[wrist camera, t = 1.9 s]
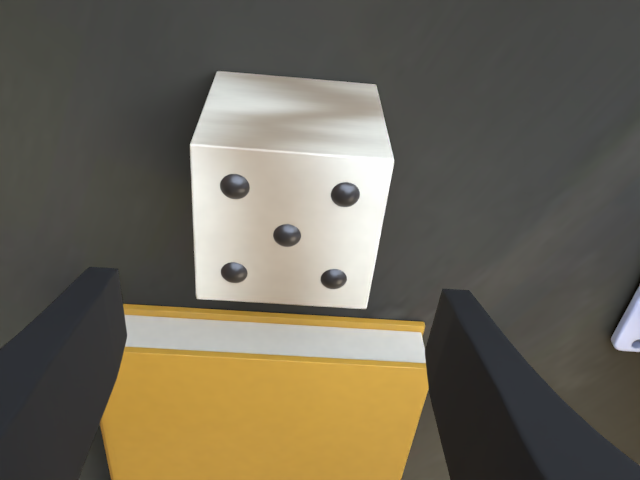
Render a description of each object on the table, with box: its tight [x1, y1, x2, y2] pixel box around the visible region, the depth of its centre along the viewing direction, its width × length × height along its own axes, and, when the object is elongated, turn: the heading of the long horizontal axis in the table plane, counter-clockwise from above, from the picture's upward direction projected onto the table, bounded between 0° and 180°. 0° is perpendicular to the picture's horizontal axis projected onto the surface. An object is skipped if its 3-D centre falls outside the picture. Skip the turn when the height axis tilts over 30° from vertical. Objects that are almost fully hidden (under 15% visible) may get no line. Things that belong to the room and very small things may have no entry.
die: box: [190, 71, 394, 309], centre depth 18 cm, size 5×5×5 cm
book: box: [100, 304, 429, 480], centre depth 28 cm, size 13×17×3 cm
